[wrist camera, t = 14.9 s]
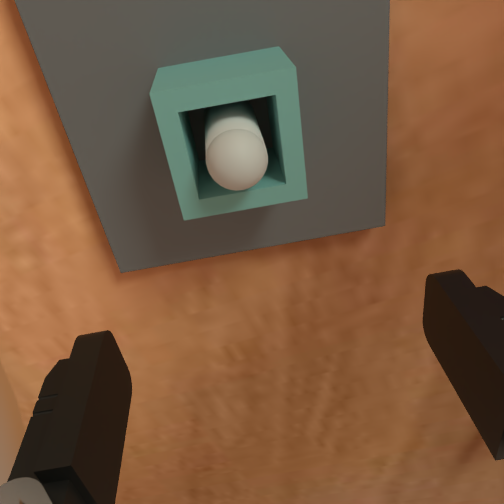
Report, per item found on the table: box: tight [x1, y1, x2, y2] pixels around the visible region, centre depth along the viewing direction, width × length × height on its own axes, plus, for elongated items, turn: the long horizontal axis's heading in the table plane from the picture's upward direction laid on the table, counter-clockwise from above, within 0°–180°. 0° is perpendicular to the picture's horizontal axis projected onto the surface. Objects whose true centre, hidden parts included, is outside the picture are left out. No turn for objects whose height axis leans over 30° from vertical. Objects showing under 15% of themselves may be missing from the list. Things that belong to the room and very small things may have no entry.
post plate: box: [15, 0, 390, 273], centre depth 23 cm, size 18×18×9 cm
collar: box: [149, 46, 308, 221], centre depth 23 cm, size 6×6×5 cm
